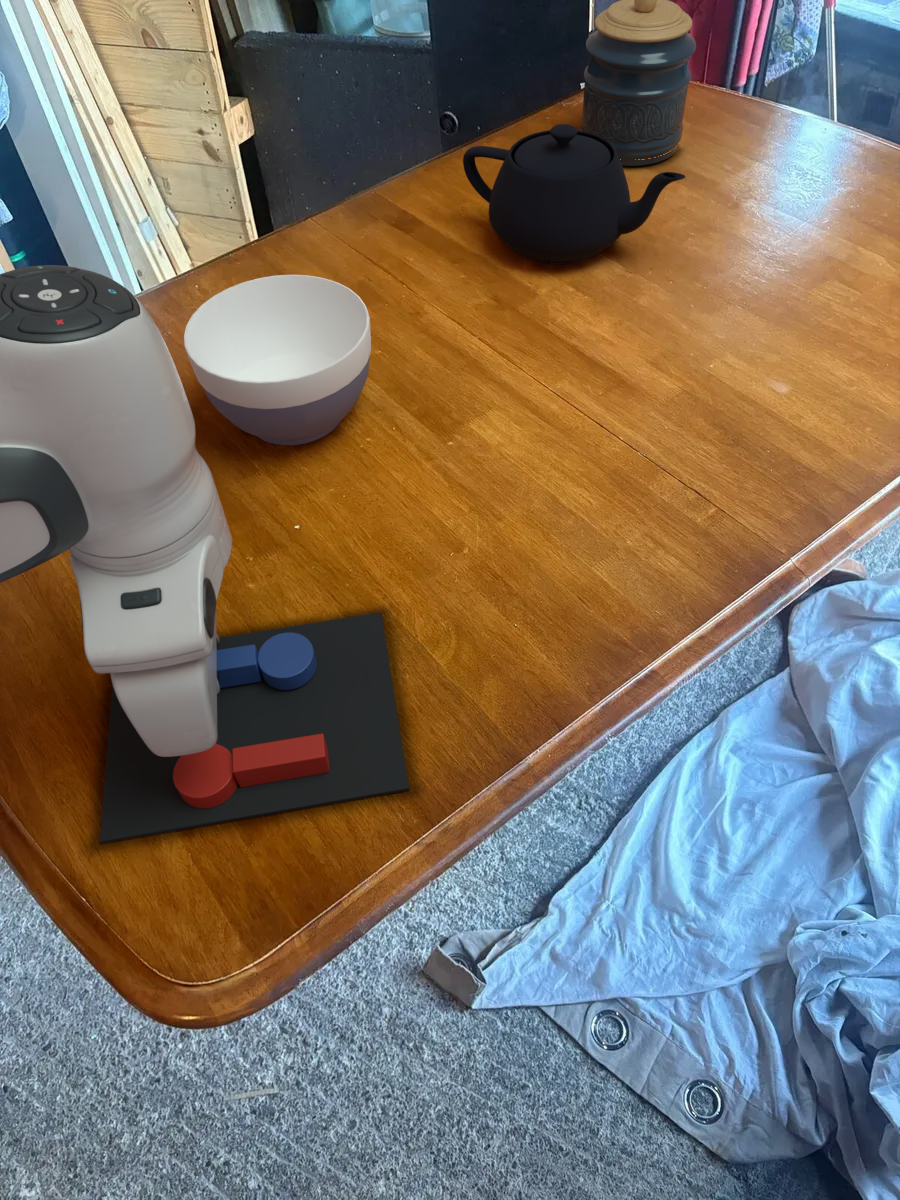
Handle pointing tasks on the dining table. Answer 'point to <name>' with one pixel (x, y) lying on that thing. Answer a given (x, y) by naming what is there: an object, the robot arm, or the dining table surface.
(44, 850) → the dining table surface
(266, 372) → the bowl
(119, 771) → the mat
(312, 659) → the blue spoon
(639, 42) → the canister
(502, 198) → the teapot
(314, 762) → the red spoon
